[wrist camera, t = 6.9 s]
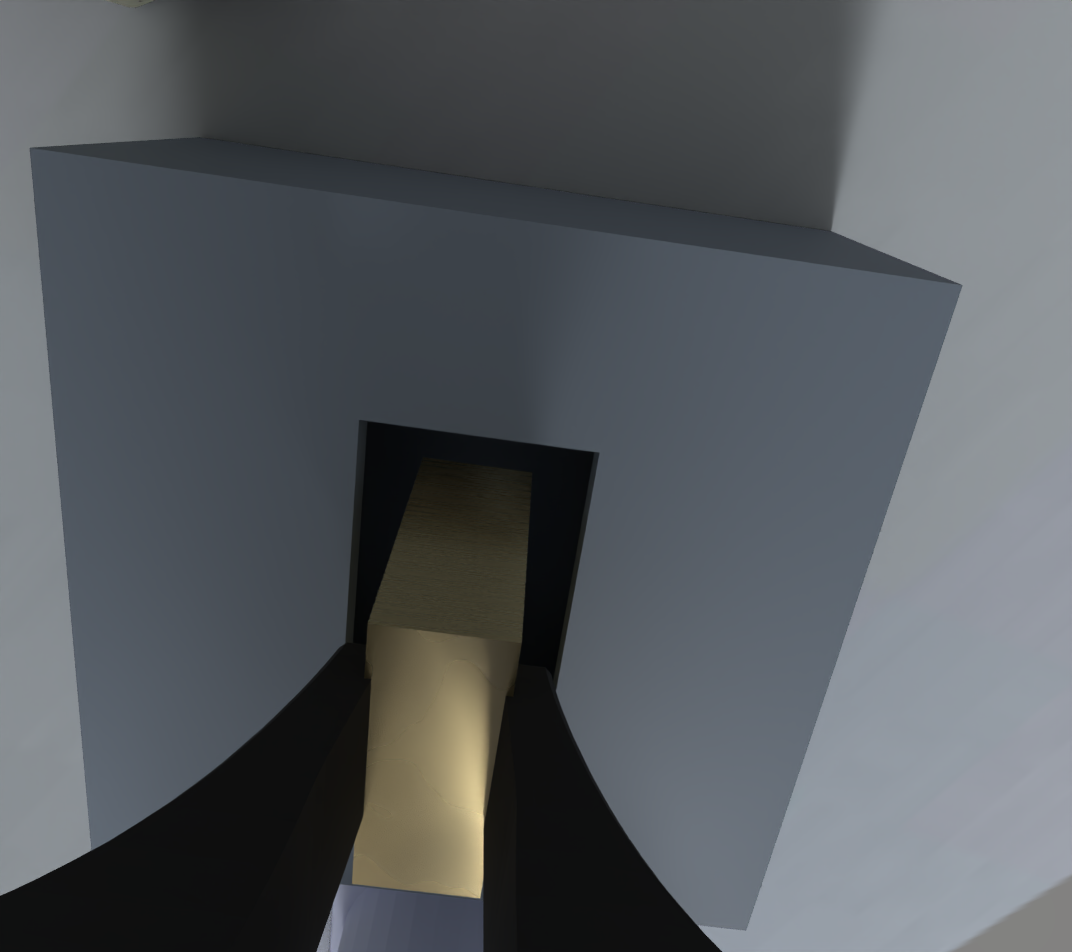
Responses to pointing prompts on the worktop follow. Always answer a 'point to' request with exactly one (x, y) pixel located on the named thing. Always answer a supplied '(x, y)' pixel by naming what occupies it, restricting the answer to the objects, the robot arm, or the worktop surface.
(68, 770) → the worktop surface
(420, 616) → the block
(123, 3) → the skincare box
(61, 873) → the robot arm
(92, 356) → the slot box
